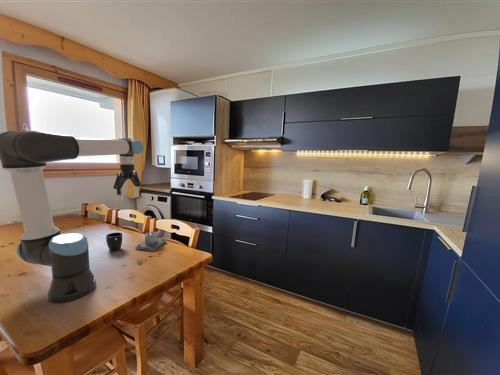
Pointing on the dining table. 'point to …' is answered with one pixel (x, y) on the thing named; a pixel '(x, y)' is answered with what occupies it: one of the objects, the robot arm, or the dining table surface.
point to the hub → (151, 238)
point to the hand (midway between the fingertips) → (128, 198)
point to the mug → (114, 241)
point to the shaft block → (150, 247)
